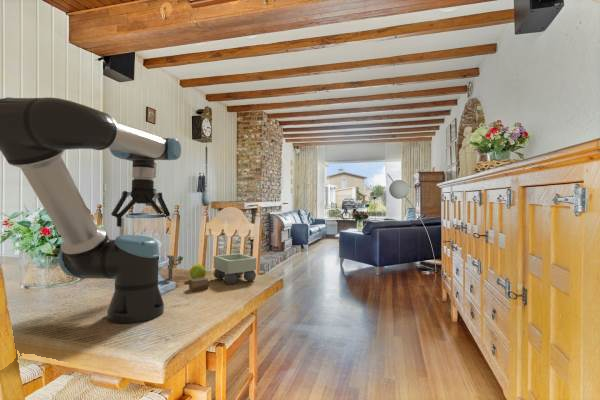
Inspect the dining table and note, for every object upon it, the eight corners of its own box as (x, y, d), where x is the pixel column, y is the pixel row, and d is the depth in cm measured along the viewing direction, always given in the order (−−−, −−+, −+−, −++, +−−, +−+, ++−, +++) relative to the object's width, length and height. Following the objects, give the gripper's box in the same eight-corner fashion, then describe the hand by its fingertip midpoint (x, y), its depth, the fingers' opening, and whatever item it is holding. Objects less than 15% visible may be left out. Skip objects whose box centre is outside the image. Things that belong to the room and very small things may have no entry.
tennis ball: (204, 277, 143) (204, 262, 144) (207, 280, 138) (207, 265, 138) (188, 279, 140) (188, 263, 140) (191, 282, 134) (191, 266, 134)
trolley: (256, 281, 138) (257, 258, 138) (227, 285, 130) (227, 261, 130) (240, 274, 150) (241, 253, 150) (212, 278, 142) (212, 256, 142)
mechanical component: (180, 279, 139) (180, 256, 139) (157, 279, 139) (157, 256, 139) (183, 278, 142) (183, 255, 142) (160, 277, 142) (160, 255, 142)
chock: (207, 289, 125) (208, 279, 125) (192, 292, 121) (192, 281, 121) (204, 287, 128) (204, 277, 128) (189, 289, 124) (189, 279, 124)
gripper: (172, 182, 133) (171, 233, 133) (103, 177, 117) (101, 235, 116) (179, 181, 128) (178, 234, 127) (107, 176, 111) (105, 237, 110)
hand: (141, 235), depth 122 cm, fingers open, 13 cm apart
